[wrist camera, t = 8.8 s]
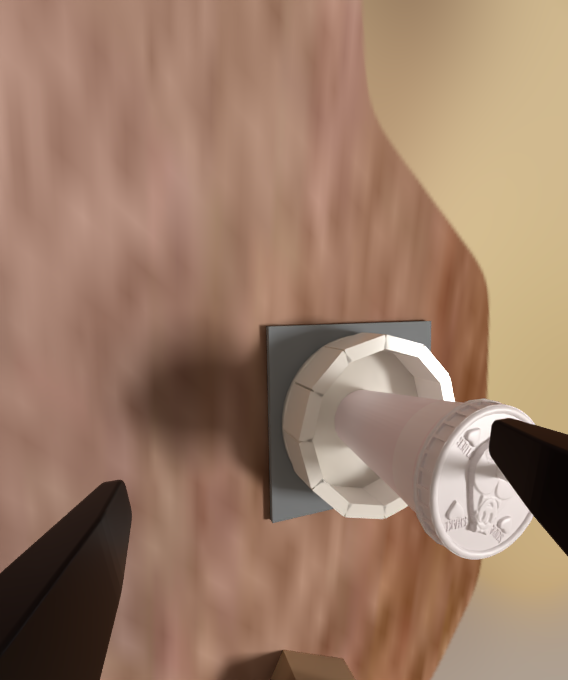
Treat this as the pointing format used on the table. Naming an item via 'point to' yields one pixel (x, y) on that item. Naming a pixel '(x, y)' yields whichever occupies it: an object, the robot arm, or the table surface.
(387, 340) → the white bowl
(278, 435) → the mat
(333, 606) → the table surface
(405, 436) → the smoothie
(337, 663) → the walnut block
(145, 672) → the table surface
